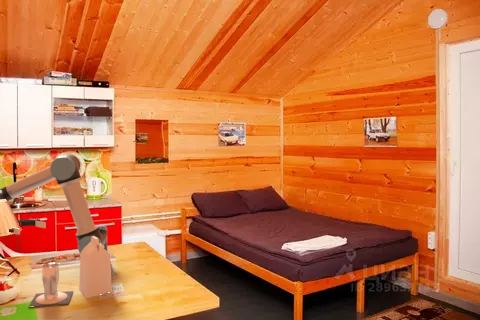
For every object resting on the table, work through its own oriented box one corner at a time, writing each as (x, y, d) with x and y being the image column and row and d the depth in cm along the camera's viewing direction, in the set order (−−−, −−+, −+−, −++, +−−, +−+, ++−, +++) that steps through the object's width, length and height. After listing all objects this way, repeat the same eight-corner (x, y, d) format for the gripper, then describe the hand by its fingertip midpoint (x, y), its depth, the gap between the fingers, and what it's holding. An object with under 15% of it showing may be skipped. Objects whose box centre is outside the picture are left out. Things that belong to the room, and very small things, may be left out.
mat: (73, 292, 197) (73, 290, 197) (68, 305, 184) (68, 302, 184) (36, 295, 194) (36, 292, 194) (28, 308, 180) (28, 305, 180)
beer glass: (45, 294, 192) (45, 262, 190) (61, 294, 192) (61, 262, 191) (40, 301, 185) (39, 268, 183) (56, 300, 185) (55, 267, 184)
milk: (79, 289, 201) (78, 236, 199) (103, 284, 208) (102, 233, 206) (87, 298, 192) (86, 242, 189) (112, 292, 199) (111, 238, 196)
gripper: (27, 224, 218) (55, 230, 209) (-22, 235, 196) (7, 242, 187) (26, 210, 218) (54, 215, 208) (-22, 220, 196) (7, 225, 186)
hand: (32, 228), depth 197 cm, fingers open, 13 cm apart
